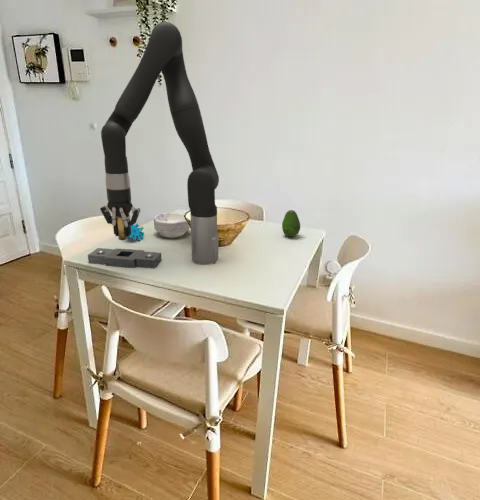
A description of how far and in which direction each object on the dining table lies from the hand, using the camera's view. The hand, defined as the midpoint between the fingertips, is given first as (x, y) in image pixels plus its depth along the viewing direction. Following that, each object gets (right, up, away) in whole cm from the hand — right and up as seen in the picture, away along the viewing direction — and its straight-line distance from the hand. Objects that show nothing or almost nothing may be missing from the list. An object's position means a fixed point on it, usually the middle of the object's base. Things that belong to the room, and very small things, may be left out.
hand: (122, 235), depth 124 cm
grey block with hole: (0, -9, +3) cm, 10 cm away
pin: (0, -1, 0) cm, 1 cm away
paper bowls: (+11, +2, +32) cm, 34 cm away
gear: (-3, -1, +26) cm, 26 cm away
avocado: (+63, +1, +33) cm, 71 cm away
